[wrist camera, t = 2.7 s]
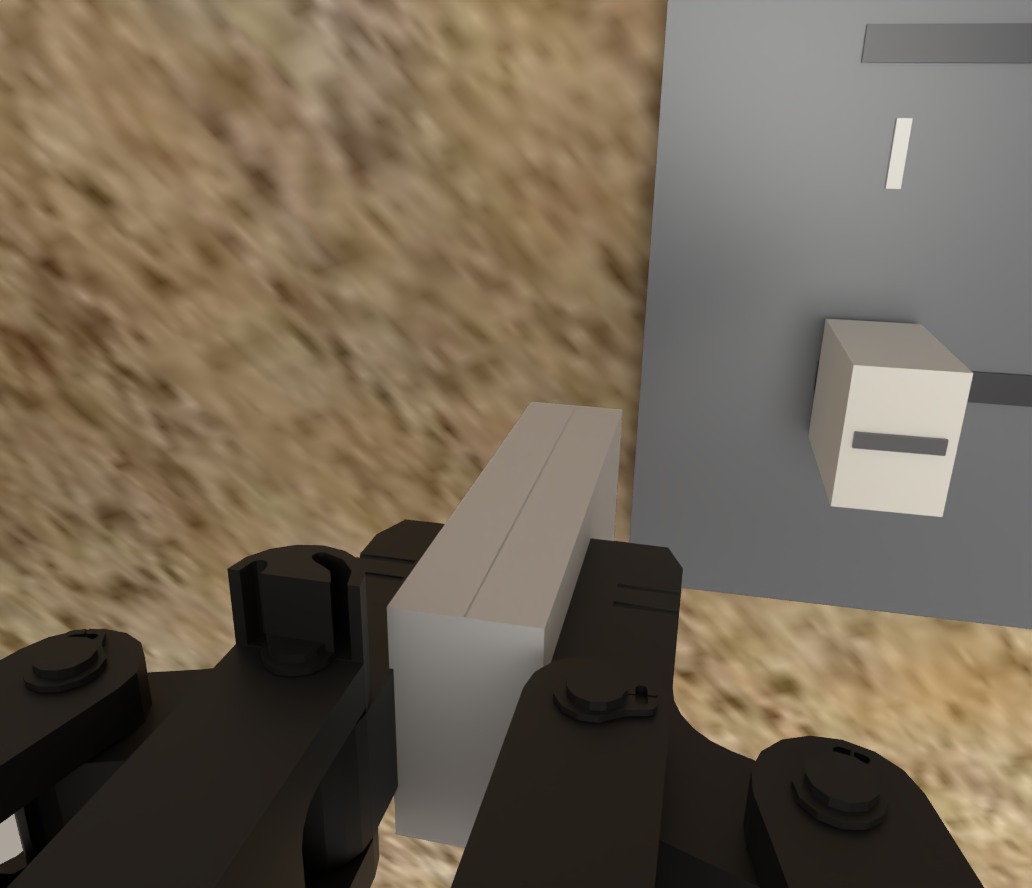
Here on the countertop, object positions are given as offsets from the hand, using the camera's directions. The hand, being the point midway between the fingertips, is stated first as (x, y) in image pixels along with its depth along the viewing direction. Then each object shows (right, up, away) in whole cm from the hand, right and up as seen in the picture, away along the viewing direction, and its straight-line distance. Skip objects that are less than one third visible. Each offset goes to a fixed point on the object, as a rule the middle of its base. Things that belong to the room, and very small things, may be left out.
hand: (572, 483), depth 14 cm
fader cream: (+7, +2, +5) cm, 9 cm away
